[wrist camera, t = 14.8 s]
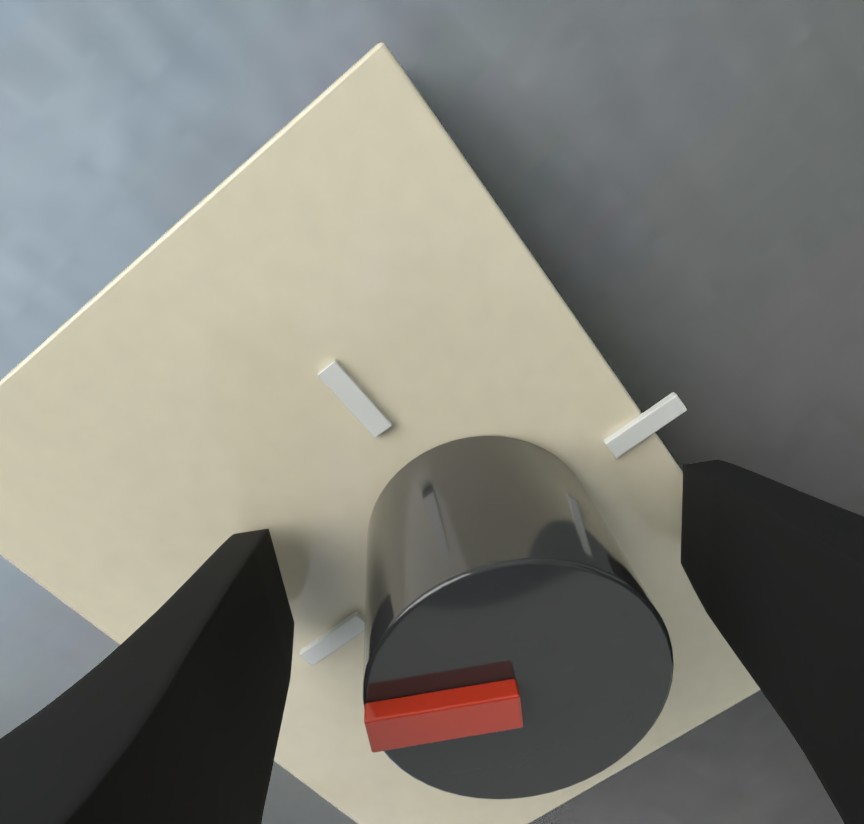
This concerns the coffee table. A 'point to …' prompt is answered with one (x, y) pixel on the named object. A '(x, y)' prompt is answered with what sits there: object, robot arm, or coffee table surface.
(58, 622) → the coffee table surface
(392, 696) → the knob
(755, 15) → the coffee table surface
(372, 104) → the cream dial panel
